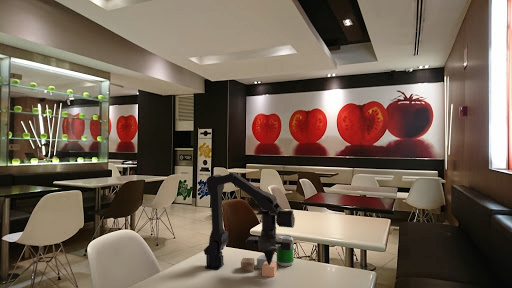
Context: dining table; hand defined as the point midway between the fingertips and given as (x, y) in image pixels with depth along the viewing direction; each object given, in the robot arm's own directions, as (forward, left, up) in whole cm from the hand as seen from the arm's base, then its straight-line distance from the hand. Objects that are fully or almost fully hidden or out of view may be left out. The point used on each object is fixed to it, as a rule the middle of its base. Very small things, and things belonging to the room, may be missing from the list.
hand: (269, 264), depth 124 cm
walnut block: (-10, +2, -4) cm, 11 cm away
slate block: (-4, +7, -4) cm, 9 cm away
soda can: (+4, +12, -4) cm, 13 cm away
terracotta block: (0, 0, -4) cm, 4 cm away
